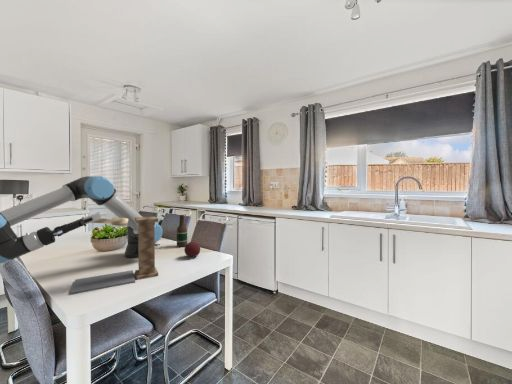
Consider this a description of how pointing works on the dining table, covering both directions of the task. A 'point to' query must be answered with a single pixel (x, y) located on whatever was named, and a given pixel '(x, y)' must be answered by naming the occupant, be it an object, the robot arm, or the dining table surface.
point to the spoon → (112, 221)
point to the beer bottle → (181, 233)
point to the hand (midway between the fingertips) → (100, 214)
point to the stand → (146, 247)
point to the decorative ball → (192, 249)
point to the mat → (102, 281)
